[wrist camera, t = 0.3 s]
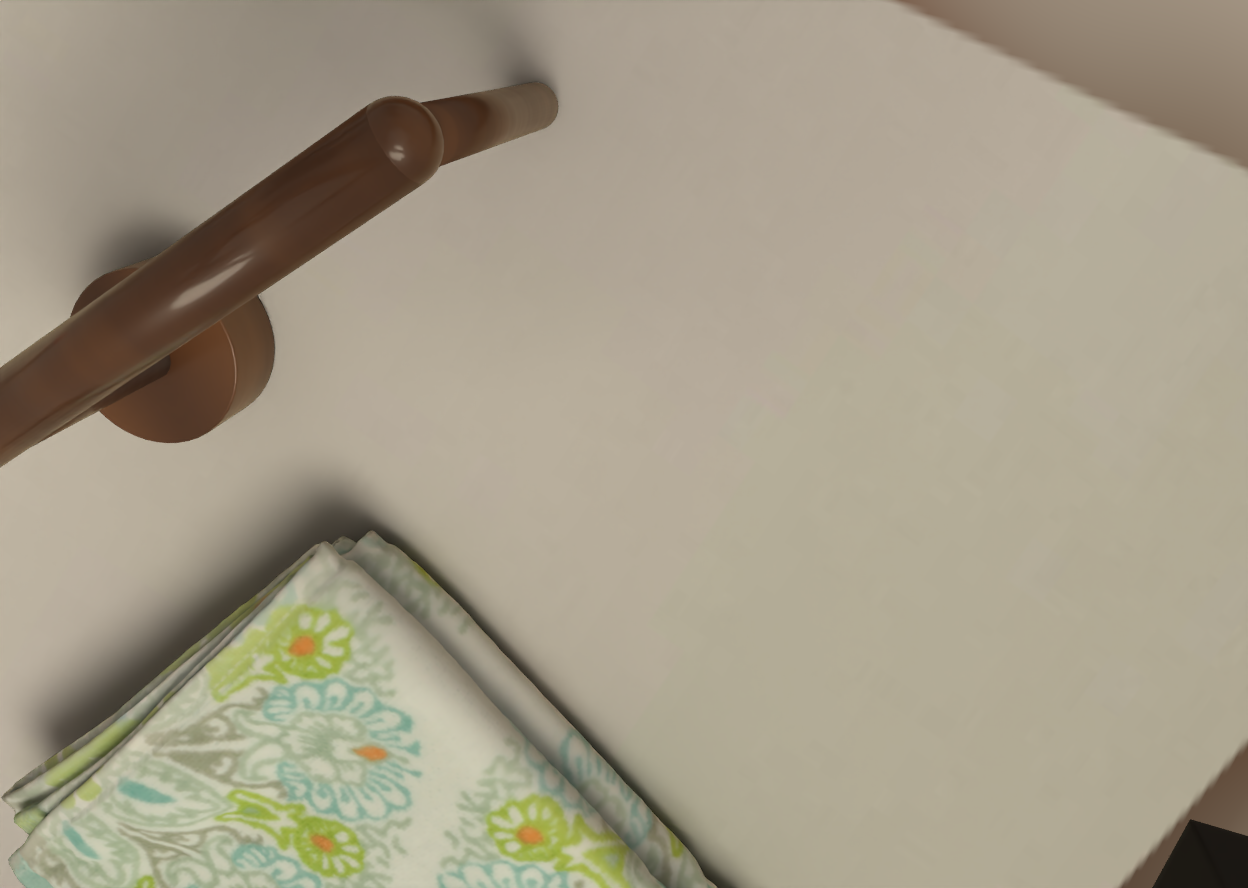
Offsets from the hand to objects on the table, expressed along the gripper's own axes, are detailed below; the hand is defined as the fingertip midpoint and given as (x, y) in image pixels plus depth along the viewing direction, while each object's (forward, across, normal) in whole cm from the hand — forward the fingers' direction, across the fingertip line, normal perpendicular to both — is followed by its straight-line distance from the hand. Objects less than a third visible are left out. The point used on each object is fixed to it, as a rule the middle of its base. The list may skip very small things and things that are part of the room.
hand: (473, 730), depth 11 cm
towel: (+22, -5, -23) cm, 32 cm away
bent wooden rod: (+21, -10, -2) cm, 24 cm away
